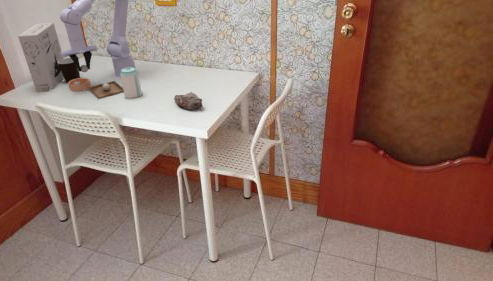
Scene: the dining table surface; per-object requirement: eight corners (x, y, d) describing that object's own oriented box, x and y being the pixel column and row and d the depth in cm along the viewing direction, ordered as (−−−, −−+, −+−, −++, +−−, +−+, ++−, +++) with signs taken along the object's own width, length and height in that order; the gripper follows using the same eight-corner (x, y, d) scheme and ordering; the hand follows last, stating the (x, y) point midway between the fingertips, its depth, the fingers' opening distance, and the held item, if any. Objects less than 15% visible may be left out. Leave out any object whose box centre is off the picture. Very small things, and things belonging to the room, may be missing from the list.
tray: (114, 83, 175) (114, 80, 175) (126, 92, 166) (125, 89, 165) (88, 90, 169) (87, 87, 169) (98, 100, 160) (98, 97, 159)
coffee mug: (76, 85, 176) (70, 64, 170) (59, 84, 177) (53, 63, 172) (90, 75, 185) (84, 55, 180) (74, 75, 187) (68, 55, 182)
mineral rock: (171, 102, 156) (170, 92, 154) (189, 97, 160) (188, 87, 158) (186, 115, 146) (185, 104, 143) (205, 109, 149) (204, 99, 147)
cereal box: (53, 90, 170) (36, 34, 158) (36, 91, 170) (17, 35, 157) (68, 73, 189) (53, 22, 176) (52, 74, 189) (36, 23, 176)
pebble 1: (81, 85, 172) (78, 79, 170) (83, 87, 170) (80, 81, 168) (74, 88, 171) (71, 82, 169) (76, 90, 169) (73, 84, 167)
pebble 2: (87, 70, 169) (85, 63, 167) (89, 72, 167) (88, 65, 165) (80, 72, 167) (78, 65, 166) (82, 74, 165) (80, 66, 163)
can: (121, 97, 162) (115, 70, 156) (134, 91, 167) (129, 65, 160) (132, 100, 158) (127, 73, 152) (145, 95, 163) (140, 68, 157)
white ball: (109, 88, 169) (107, 81, 168) (111, 90, 167) (110, 83, 165) (102, 90, 168) (100, 83, 166) (104, 92, 165) (102, 85, 164)
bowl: (87, 82, 177) (86, 76, 176) (93, 88, 171) (92, 81, 169) (67, 87, 173) (65, 81, 171) (73, 93, 167) (71, 87, 165)
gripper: (60, 44, 153) (69, 76, 160) (96, 37, 161) (103, 68, 167) (56, 40, 158) (65, 72, 165) (91, 34, 165) (98, 64, 172)
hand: (84, 69), depth 166 cm, fingers closed on pebble 2, 3 cm apart
